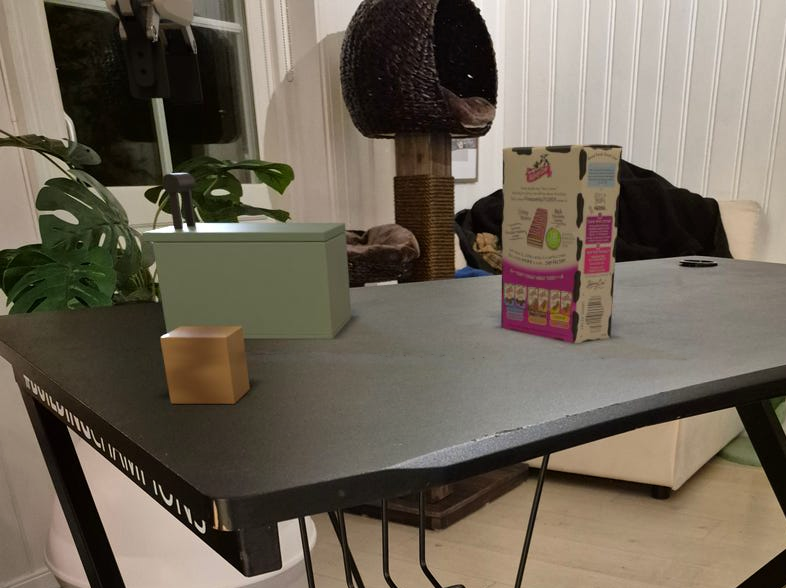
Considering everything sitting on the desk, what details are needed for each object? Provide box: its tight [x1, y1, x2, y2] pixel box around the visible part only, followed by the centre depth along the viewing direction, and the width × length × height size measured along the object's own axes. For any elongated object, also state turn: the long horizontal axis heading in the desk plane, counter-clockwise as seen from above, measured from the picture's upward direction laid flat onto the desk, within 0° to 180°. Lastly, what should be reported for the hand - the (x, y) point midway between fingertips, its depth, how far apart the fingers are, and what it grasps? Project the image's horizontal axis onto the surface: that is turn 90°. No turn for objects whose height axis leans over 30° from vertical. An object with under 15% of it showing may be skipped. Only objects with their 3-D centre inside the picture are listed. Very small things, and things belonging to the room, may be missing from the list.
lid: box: [141, 172, 346, 243], centre depth 85 cm, size 16×13×5 cm
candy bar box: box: [500, 143, 623, 344], centre depth 84 cm, size 11×5×16 cm, turn 37°
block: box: [159, 326, 251, 405], centre depth 66 cm, size 5×5×5 cm
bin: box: [152, 231, 352, 339], centre depth 89 cm, size 16×13×9 cm
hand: (169, 101), depth 81 cm, fingers open, 9 cm apart
